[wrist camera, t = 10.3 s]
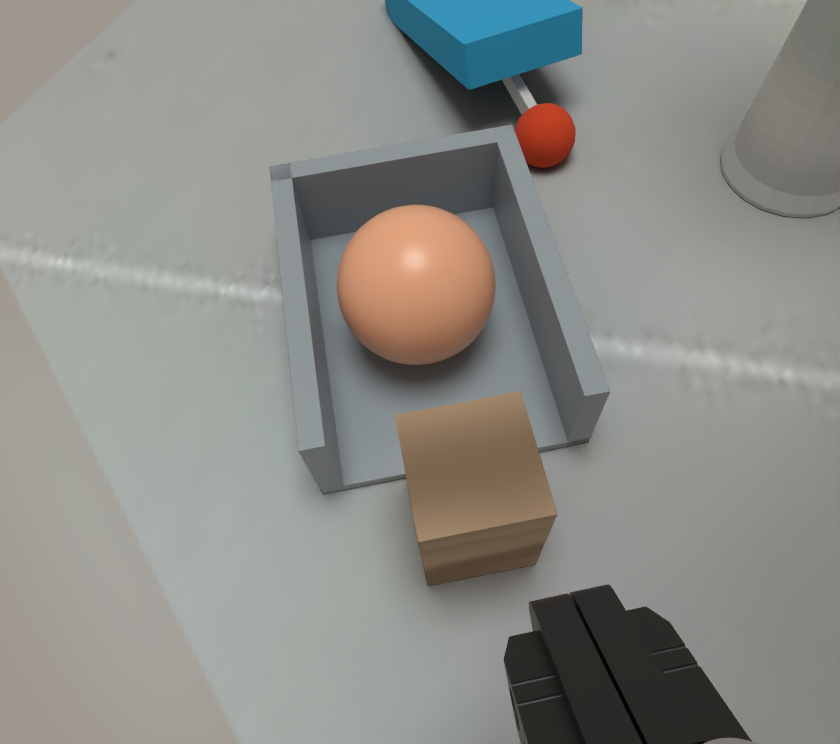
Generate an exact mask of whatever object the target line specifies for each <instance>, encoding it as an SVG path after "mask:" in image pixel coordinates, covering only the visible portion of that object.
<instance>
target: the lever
mask: <svg viewBox="0 0 840 744" xmlns="http://www.w3.org/2000/svg"><path fill="white" fill-rule="evenodd" d="M385 3H386V9H387V14H388V15H389V17H390V18H391V20H392V22H393V23H394V24H395V25H396V26H397V27H399V28H400V29H401V30H402V31H403V32H404V33H405V34H406V35H408V36H409V37H410V38H411V39H412V40H413V41H414V42H415V43H417V44H418V45H419V46H420V47H421V48H422V49H423V50H424V51H425V52H427V53H428V54H429V55H430V56H431V57H432V58H433V59H434V60H436V61H437V62H438V63H439V64H440V65H441V66H442V67H443V68H445V69H446V70H447V71H448V72H449V73H450V74H451V75H452V76H454V77H455V78H456V79H457V80H458V81H459V82H460V83H461V84H463V85H464V86H465V87H466V88H467V89H468V90H471V89H474V88H477V87H480V86H483V85H486V84H490V83H493V82H496V81H499V80H502V81H503V83H504V85H505V86H506V88H507V90H508V92H509V93H510V95H511V97H512V99H513V100H514V102H515V104H516V106H517V107H518V109H519V111H520V113H521V114H522V116H521V117H520V118H519V120H518V122H517V124H516V127H515V130H514V131H515V133H516V136H517V139H518V142H519V144H520V147H521V150H522V152H523V155H524V158H525V161H526V162H527V163H528V164H529V165H532V166H535V167H541V168H545V167H551V166H554V165H556V164H558V163H560V162H561V161H563V160H564V159H565V158H566V157H567V156H568V154H569V153H570V151H571V149H572V147H573V145H574V142H575V126H574V123H573V121H572V118H571V116H570V115H569V114H568V112H567V111H566V110H565V109H563V108H562V107H560V106H558V105H556V104H551V103H543V104H538V105H537V103H536V102H535V100H534V98H533V97H532V95H531V93H530V91H529V90H528V88H527V86H526V85H525V83H524V81H523V79H522V78H521V76H520V74H521V73H524V72H527V71H530V70H533V69H537V68H540V67H543V66H546V65H549V64H552V63H555V62H558V61H562V60H565V59H568V58H571V57H574V56H577V55H580V54H582V7H581V6H579V5H577V4H575V3H573V2H571V1H569V0H385Z"/></svg>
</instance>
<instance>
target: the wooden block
mask: <svg viewBox="0 0 840 744" xmlns="http://www.w3.org/2000/svg"><path fill="white" fill-rule="evenodd" d="M395 420H396V425H397V431H398V436H399V442H400V447H401V452H402V458H403V463H404V469H405V474H406V480H407V485H408V491H409V496H410V501H411V507H412V512H413V518H414V523H415V529H416V534H417V540H418V545H419V549H420V554H421V558H422V563H423V567H424V572H425V576H426V581H427V586H431V585H436V584H441V583H446V582H451V581H456V580H461V579H466V578H471V577H476V576H481V575H486V574H490V573H495V572H500V571H505V570H510V569H515V568H520V567H525V566H530V565H535V564H536V562H537V560H538V557H539V555H540V553H541V550H542V548H543V546H544V543H545V541H546V539H547V537H548V534H549V532H550V530H551V527H552V525H553V523H554V521H555V518H556V516H557V512H556V509H555V505H554V502H553V499H552V495H551V492H550V488H549V485H548V482H547V478H546V475H545V471H544V468H543V464H542V461H541V458H540V454H539V451H538V447H537V444H536V441H535V437H534V434H533V430H532V427H531V424H530V420H529V417H528V413H527V410H526V406H525V403H524V400H523V396H522V393H521V391H518V392H513V393H508V394H503V395H497V396H492V397H487V398H482V399H477V400H471V401H466V402H461V403H456V404H450V405H445V406H440V407H435V408H429V409H424V410H419V411H414V412H408V413H403V414H398V415H395Z"/></svg>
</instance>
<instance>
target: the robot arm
mask: <svg viewBox="0 0 840 744" xmlns="http://www.w3.org/2000/svg"><path fill="white" fill-rule="evenodd" d="M529 610H530V616H531V622H532V628H533V632H529V633H524V634H520V635H515V636H511V637H509V640H508V644H507V648H506V652H505V656H504V664H505V669H506V674H507V679H508V685H509V690H510V695H511V700H512V706H513V711H514V716H515V721H516V727H517V730H518V734H519V737H520V741H521V744H757V743H754V742H752V740H751V739H750V738H749V737H748V735H747V734H746V733H745V731H744V730H743V728H742V727H741V725H740V724H739V722H738V721H737V719H736V718H735V717H734V715H733V714H732V712H731V711H730V709H729V708H728V706H727V705H726V703H725V702H724V701H723V699H722V698H721V696H720V695H719V693H718V692H717V690H716V689H715V687H714V686H713V685H712V683H711V682H710V680H709V679H708V677H707V676H706V674H705V673H704V672H703V670H702V669H701V667H699V666H698V664H697V661H696V660H695V658H694V657H693V656H692V654H691V653H690V651H689V650H688V649H686V647H685V644H684V642H683V641H682V640H681V638H680V637H679V635H678V634H677V632H676V631H675V629H674V628H673V626H672V625H671V624H670V622H668V621H667V620H665V619H664V618H662V617H661V616H659V615H658V614H656V613H655V612H653V611H652V610H650V609H649V608H647V607H641V608H637V609H632V610H628V611H626V610H625V608H624V607H623V605H622V603H621V602H620V600H619V598H618V597H617V595H616V593H615V592H614V590H613V589H612V587H611V586H610V585H609V584H608V585H603V586H598V587H594V588H589V589H585V590H580V591H576V592H571V593H570V594H563V595H558V596H554V597H549V598H544V599H540V600H535V601H531V602H529Z"/></svg>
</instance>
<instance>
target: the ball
mask: <svg viewBox="0 0 840 744" xmlns="http://www.w3.org/2000/svg"><path fill="white" fill-rule="evenodd" d="M495 291H496V280H495V272H494V266H493V263H492V260H491V257H490V254H489V252H488V250H487V248H486V246H485V244H484V242H483V241H482V239H481V238H480V237H479V235H478V234H477V233H476V232H475V231H474V229H473V228H472V227H471V226H469V225H468V224H467V223H466V222H465V221H463V220H462V219H460V218H459V217H458V216H456V215H454V214H452V213H450V212H448V211H445V210H443V209H440V208H437V207H433V206H427V205H406V206H400V207H395V208H392V209H389V210H386V211H384V212H382V213H380V214H378V215H376V216H375V217H373V218H372V219H370V220H369V221H368V222H366V223H365V224H364V225H363V226H362V227H361V228H360V229H359V230H358V231H357V232H356V233H355V234H354V236H353V237H352V238H351V240H350V241H349V242H348V244H347V246H346V248H345V250H344V252H343V255H342V257H341V260H340V263H339V268H338V273H337V296H338V302H339V307H340V310H341V312H342V315H343V318H344V320H345V322H346V324H347V325H348V327H349V329H350V330H351V332H352V333H353V334H354V336H355V337H356V338H357V339H358V340H359V341H360V342H361V343H362V344H363V345H364V346H365V347H366V348H367V349H369V350H370V351H372V352H373V353H375V354H377V355H379V356H380V357H382V358H384V359H387V360H389V361H392V362H396V363H400V364H406V365H426V364H432V363H437V362H440V361H443V360H446V359H448V358H450V357H452V356H454V355H456V354H458V353H459V352H461V351H462V350H463V349H465V348H466V347H467V346H468V345H469V344H471V343H472V342H473V341H474V339H475V338H476V337H477V336H478V335H479V333H480V332H481V331H482V329H483V328H484V326H485V324H486V322H487V320H488V319H489V316H490V313H491V310H492V307H493V304H494V298H495Z"/></svg>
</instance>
